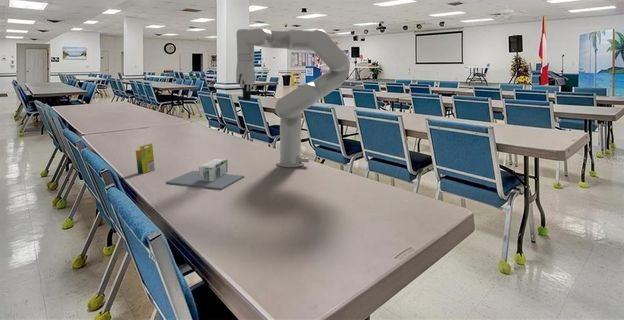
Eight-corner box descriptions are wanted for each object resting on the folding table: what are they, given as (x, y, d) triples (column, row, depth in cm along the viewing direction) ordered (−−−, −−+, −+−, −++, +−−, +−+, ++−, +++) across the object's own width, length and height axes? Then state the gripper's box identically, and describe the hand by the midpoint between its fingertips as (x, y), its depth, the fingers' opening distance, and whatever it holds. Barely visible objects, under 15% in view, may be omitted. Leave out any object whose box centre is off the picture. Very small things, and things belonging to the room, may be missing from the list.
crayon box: (149, 169, 174) (147, 142, 171) (155, 169, 173) (153, 143, 170) (137, 173, 167) (134, 145, 164) (143, 174, 166) (140, 146, 163)
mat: (244, 177, 163) (244, 175, 163) (221, 189, 146) (221, 188, 146) (193, 172, 170) (193, 170, 170) (166, 183, 153) (165, 181, 153)
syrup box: (228, 172, 168) (212, 182, 154) (215, 171, 169) (198, 180, 155) (227, 159, 166) (212, 167, 153) (214, 158, 168) (198, 166, 154)
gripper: (245, 58, 185) (246, 98, 190) (229, 58, 171) (231, 101, 176) (260, 58, 183) (261, 99, 187) (245, 58, 169) (246, 101, 173)
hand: (246, 100), depth 181 cm, fingers closed
